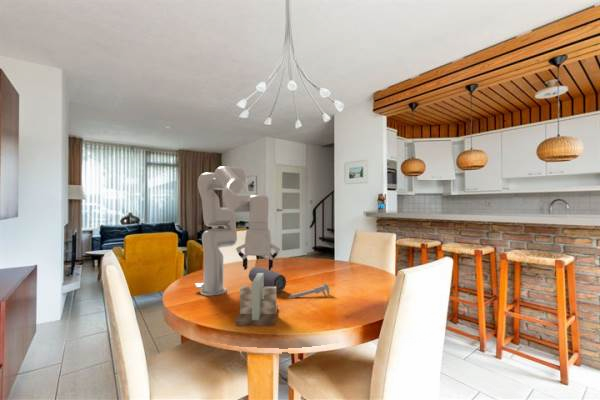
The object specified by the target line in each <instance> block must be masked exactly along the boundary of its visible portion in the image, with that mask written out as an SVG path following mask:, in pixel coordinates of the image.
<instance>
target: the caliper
mask: <svg viewBox="0 0 600 400" xmlns="http://www.w3.org/2000/svg"><path fill="white" fill-rule="evenodd" d="M314 293H315V294H316V295H317V294H319V293H322V294H323V295H324V296H326V294H327V296H330V286H329V284H327V282H325V283H323V285H321V286H316V287H314V288H312V289H308V290H305V291H301V292H297V293H294V294H290V296H287V299H296V298H300V297H304V296H307V295H310V294H314Z"/></svg>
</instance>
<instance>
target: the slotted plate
mask: <svg viewBox="0 0 600 400" xmlns="http://www.w3.org/2000/svg"><path fill="white" fill-rule="evenodd" d="M251 287H252V320H259V318H260V301H261V299H264V273H257V275H256V277H255V278H254V280H253V282H252V281H251Z"/></svg>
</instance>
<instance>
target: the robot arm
mask: <svg viewBox="0 0 600 400" xmlns="http://www.w3.org/2000/svg"><path fill="white" fill-rule="evenodd" d="M245 180H246V173H245V171H244V170H243V169H242V168H241V167H237V166H236V167H235V166H228V165H227V166H225V165H224V166H219V167H217V168H216V169H215V170H214V172H203V173H201V174H200V175H199V176H198V180H197V190H198V192H199V195H200V198H201V204H202V206H201V207H202V208H201V209H202V218H203V222H204V225H205V226H206V227H223V228H210V229H206V230H204V231H203V233H202V234H201V243H202V249H203V282H202V283H195V289H200V291H199V293H200V295H202V296H205V297H206V296H209V297H214V295H215V296H220V295H224V294H225V293H226V292H227V287H225V286H224V255H223V252H222V251H221V250H220V248H225V247H226V248H228V247H233V246H234V245H236V243H237V241H238V233H237V222H236V214H239V213H243V214H244V213H248V222H245V223H244V225H245V227H246V228H247V227H248V229H246V232H245V239H244V240H245V241H244V243H243V244H242V245H239V246H237V247H236V249H235V250H236V252H237V254H238V256H239V257H240V258H241V259H242V268H243V270H244V271H246V270H247V269H248V256H259V257H260V256H261V257H263V256H264V257H265V256H267V257H268V258H269V259H268V270H271V271H272V268H274V267H273V266H274V259H275V258H276V257H277V256H278V254H279V253H280V250H281V248H280V247H278V246H276V245H274V244H273V243H272V237H271V230H270V229H269V196H268V195H264V194H263V195H261V194H248V193H247V194H246V193H244V194H243V193H241V191H242V189H243V187H244V183H245ZM214 190H217V191H219V190H221V191H222V201H223V203H224V205H225V207H221V205H220V204H221V203H220V198H219V196H218V195H217V193H216V192H215V191H214ZM243 249H244V252H242V250H243ZM272 250H275V252H274V253H272Z"/></svg>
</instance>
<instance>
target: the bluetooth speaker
mask: <svg viewBox="0 0 600 400" xmlns="http://www.w3.org/2000/svg"><path fill="white" fill-rule="evenodd" d="M257 273H264V287H276V292H281V291H283V290H284V289H285V287H286V286H287V279H286V277H285V275H283V274H281V273H279V272H277V271H274V270H272V269H271V270H269V268H264V267H259V266H253V267H252V268H251V269H250V270H249V272H248V279H249V280H250V282H251V283H252V282H253V280H254V278H255V277H256V275H257Z"/></svg>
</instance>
